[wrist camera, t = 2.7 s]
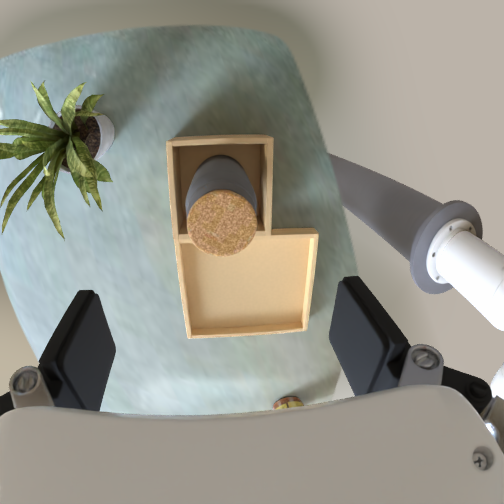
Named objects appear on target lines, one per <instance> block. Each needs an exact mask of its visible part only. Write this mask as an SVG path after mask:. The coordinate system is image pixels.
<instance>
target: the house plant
mask: <svg viewBox="0 0 504 504" xmlns="http://www.w3.org/2000/svg"><path fill="white" fill-rule="evenodd" d="M31 83H32V82H31ZM85 83H86V82H85ZM85 83H82V84H80V85H79V86H78V87H76V88H75V89H74V90H72V91H71V93H70V94H69V95H68V96H67V98H66V99H65V102H64V104H63V107H62V109H61V111H60V112H58V113H57V114H56V113H55V111H54V110H53V108H52V105H51V103H50V100H49V97H48V94H47V91H46V89H45V87H44V82H43V83H42V84H41V86H40V87H39V89H38V90H37V88H36V87H35V86H34V85H33V83H32V87H33V89H34V91H35V93H36V96H37V100H38V103H39V105H40V107H41V108H42V110H43V111H44V113H45V114H46V115H47V116H48V117H49V118H50V120H51V122H50V124H49V126H48V127H47V126H45V125H40V124H36V123H31V122H27V121H24V120H18V119H10V120H0V125H4V126H6V127H9V128H3V129H0V135H20V136H22V137H21V138H16V139H15V140H14V142H13V144H9V143H0V159H6V158H11V157H13V156H15V157H16V158H17V159H18V160H22V159H25V158H27V157H29V156H32V155H35V154H38V153H42V152H44V153H43V154H42V155H40V156H39V157H38V158H37V159H36V160H35V161H33V162H32V163H31V164H30V165H29V166H28V167H27V168H26V169H25V170H24V171H23V172H22V173H21V174H20V175H19V176H17V177H16V178H15V179H14V180H13V181H12V183H11V184H10V185H9V186H8V187H7V189H6V191H5V193H4V196H3V198H2V201H1V206H2V204H3V202H4V201H5V199H6V197H7V196H8V194H9V193H10V191H11V190H12V189H13V188H14V186H15V185H16V184H17V183H18V182H19V181H20V180H21V179H22V178H24V177H25V176H26V175H27V173H28V172H29V171H30V170H31V169H32V168H34V167H35V166H36V165H37V166H36V167H35V168H34V170H33V171H32V172H31V173H30V175H29V176H28V177H27V178H26V179H25V180H24V181H23V183H22V184H21V185H20V186H19V187H18V189H17V190H16V191H15V193H14V194H13V196H12V197H11V199H10V200H9V202H8V205H7V208H6V212H5V216H4V220H3V224H2V233H3V231H4V228H5V226H6V224H7V221H8V219H9V217H10V215H11V213H12V211H13V209H14V207H15V206H16V204H17V203H18V201H19V200H20V198H21V197H22V196H23V194H24V193H25V192H26V191H27V190H28V188H29V187H30V186H31V185H32V184H33V182H34V181H35V179H36V177H37V176H38V175H39V173H40V172H41V171H42V170H43V168H44V172H43V173H44V174H45V176H44V177H43V179H42V180H41V181H40V182H39V184H38V185H37V186H36V187H35V189H34V190H33V192H32V195H31V198H30V200H29V202H28V206H27V210H28V209H29V207H30V206H31V205H32V203H33V201H34V200H35V199H36V197H37V196H38V195H39V193H40V192H41V191H42V197H43V199H44V204H45V208H46V210H47V212H48V214H49V216H50V218H51V220H52V221H53V223H54V226H55V228H56V229H57V231H58V233H59V234H60V235H61V236H62V237H63V238H64V235H63V232H62V229H61V226H60V223H59V222H60V221H59V218H58V215H57V212H56V208H55V202H54V190H55V185H56V181H57V177H58V173H59V170H60V171H61V172H64V173H67V174H71V175H72V178H73V180H74V182H75V184H76V185H77V187H78V188H79V189H80V191H81V193H82V195H83V197H84V200H85V202H86V203H87V204H88V205H89V206H90V204H89V200H88V196H87V193H86V192H88V193H91V194H92V196H93V198H94V200H95V201H96V203H97V205H98V206H99V208H100V209H101V210H102V206H101V199H100V196H99V193H98V189H97V180H98V181H103V182H113V181H112V180H111V178H110V175H109V172H108V171H107V169H106V168H105V167H104V166H103V165H101V164H100V163H99V162H97V160H98V159H99V158H100V157H101V156H102V155H103V154H104V153H105V152H106V151H107V150H108V149H109V148H110V147H111V145H112V143H113V140H114V136H115V130H114V126H113V123H112V121H111V120H110V119H109V118H108V117H107V116H105V115H104V114H101V113H99V112H97V111H94V110H93V109H94V107H95V105H96V103H97V101H98V100H99V98H100V97H101V96H102V95H104V94H102V95H91V96H89V97H87V98H86V99H85V101H84V102H83V104H82V106H81V105H76V101H77V100H78V98H79V96H80V94H81V92H82V89H83V86H84V84H85ZM49 161H51V162H50V164H49V166H48V171H47V170H46V168H45V166H46V165H47V164H48V162H49ZM55 174H56V175H55ZM54 177H55V179H54ZM53 180H54V182H53ZM1 206H0V208H1ZM1 235H2V234H1ZM64 241H65V240H64Z"/></svg>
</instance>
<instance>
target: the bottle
mask: <svg viewBox="0 0 504 504" xmlns="http://www.w3.org/2000/svg"><path fill="white" fill-rule="evenodd" d="M185 206H186V213H187V230H188V234H189V237H190V239H191V240H192V242H193V243H194V244H195V246H196V247H197V248H198V249H200V250H201V251H203V252H204V253H207V254H209V255H212V256H218V257H225V256H231V255H234V254H237V253H239V252H241V251H242V250H244V249H245V248H246V247H247V246H248V245H249V244H250V243H251V241H252V240H253V238H254V236H255V233H256V229H257V217H256V214H257V212H256V208H257V200H256V195H255V192H254V189H253V187H252V185H251V183H250V180H249V178H248V176H247V174H246V172H245V170H244V168H243V167H242V165H241V164H240V163H239V162H238V161H237V160H236V159H234V158H232V157H230V156H227V155H215V156H212V157H209V158H207V159H206V160H204V161H203V162H202V163H201V164H200V165H199V167H198V169H197V171H196V173H195V175H194V177H193V180H192V182H191V185H190V187H189V190H188V193H187V197H186V204H185Z"/></svg>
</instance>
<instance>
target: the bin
mask: <svg viewBox="0 0 504 504" xmlns="http://www.w3.org/2000/svg"><path fill="white" fill-rule="evenodd" d="M166 148H167V167H168V182H169V196H170V208H171V219H172V229H173V239H174V240H178V239H190V237H189V234H188V230H187V213H186V206H185V204H186V197H187V193H188V190H189V187H190V185H191V182H192V180H193V177H194V175H195V173H196V171H197V169H198V167H199V165H200V164H201V163H202V162H203V161H204V160H206V159H207V158H209V157H212V156H215V155H227V156H230V157H232V158H234V159H236V160H237V161H238V162H239V163H240V164H241V165H242V167H243V168H244V170H245V172H246V174H247V176H248V178H249V180H250V183H251V185H252V187H253V189H254V192H255V195H256V200H257V208H256V212H257V214H256V217H257V229H256V233H255V236H271V220H272V183H273V137H270V136H267V135H207V136H189V137H174V138H172V139H170V140H168V141H166Z"/></svg>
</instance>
